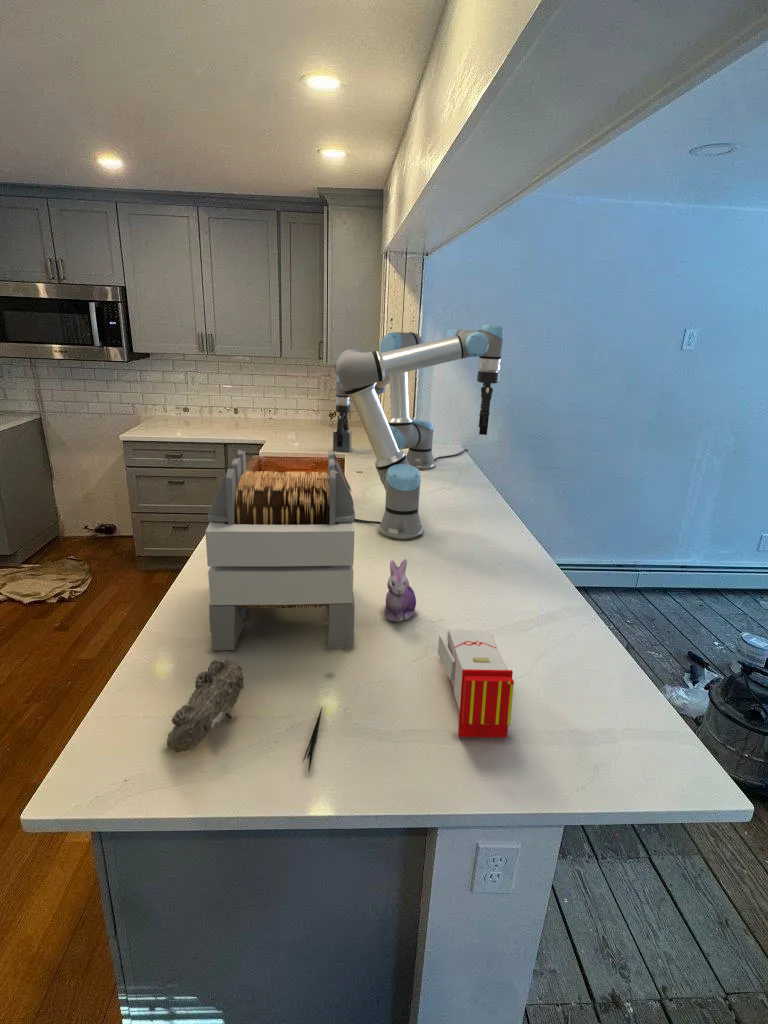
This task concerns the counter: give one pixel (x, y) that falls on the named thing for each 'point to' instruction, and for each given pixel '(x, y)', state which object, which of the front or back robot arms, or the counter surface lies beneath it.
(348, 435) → the brick
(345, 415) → the back robot arm
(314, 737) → the feather
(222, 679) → the fossil
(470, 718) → the toy
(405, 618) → the figurine
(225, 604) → the record crate
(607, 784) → the counter surface
